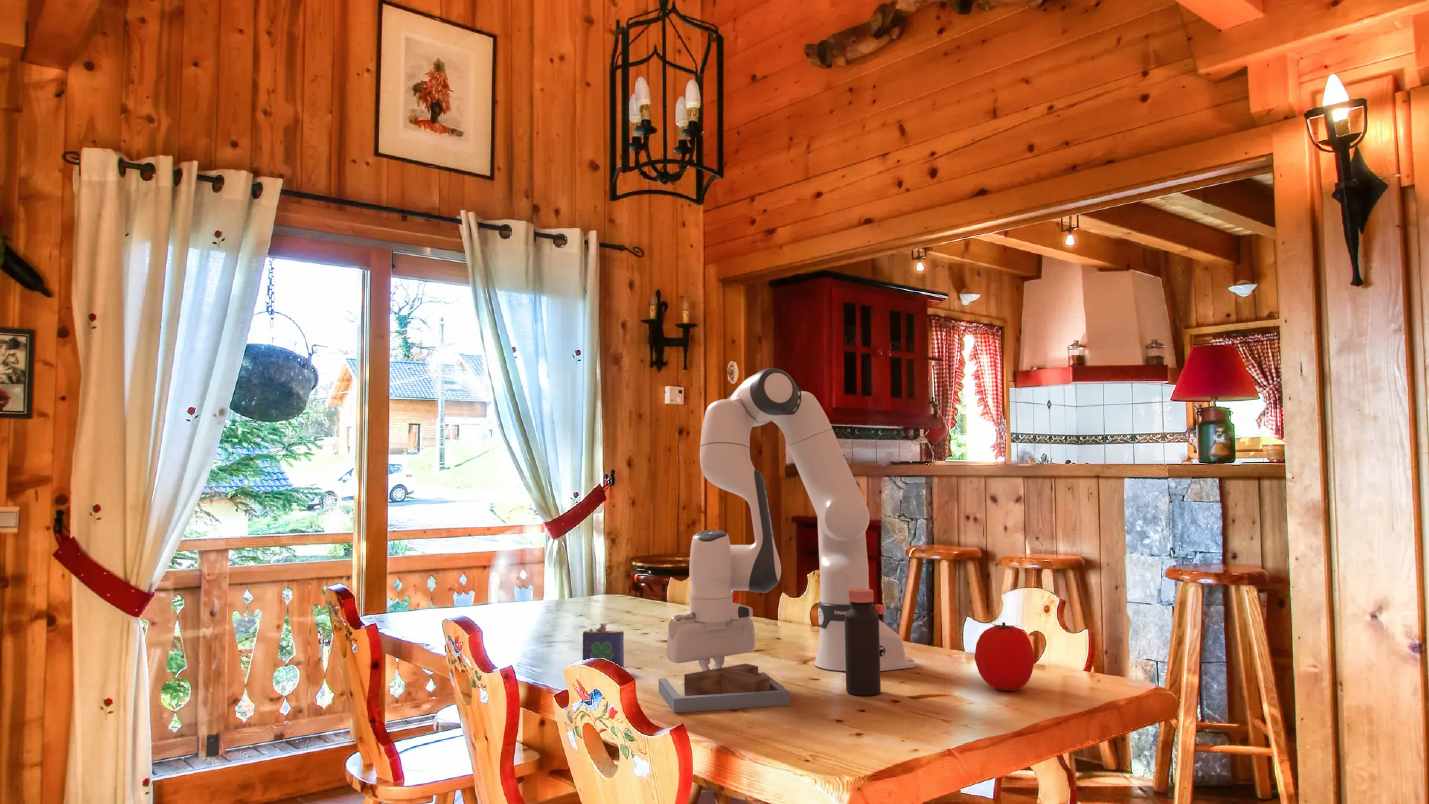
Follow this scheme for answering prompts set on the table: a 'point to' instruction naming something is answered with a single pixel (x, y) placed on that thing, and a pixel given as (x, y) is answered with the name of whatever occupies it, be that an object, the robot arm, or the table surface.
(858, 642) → the bottle
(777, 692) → the corral
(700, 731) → the table surface
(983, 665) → the tomato
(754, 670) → the t block
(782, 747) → the table surface
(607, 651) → the flask
